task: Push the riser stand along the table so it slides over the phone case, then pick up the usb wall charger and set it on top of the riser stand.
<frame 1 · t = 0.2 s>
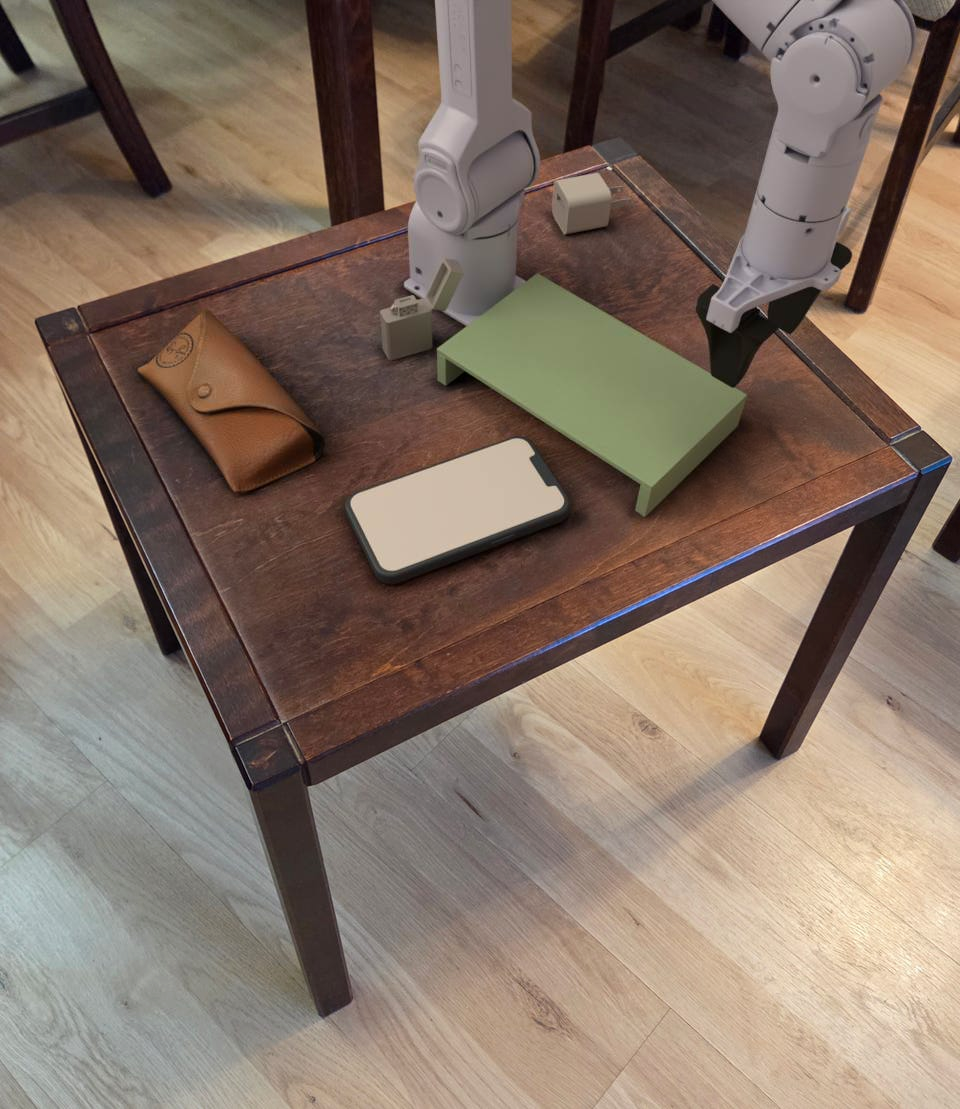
hand: (753, 352, 78), 10 cm above the table, tool pointing down, fingers open, 7 cm apart
sunglasses case: (228, 413, 88), on the table
phone case: (457, 515, 82), on the table
riser stand: (585, 403, 89), on the table
lighter: (423, 345, 93), on the table
usb wall charger: (591, 220, 104), on the table
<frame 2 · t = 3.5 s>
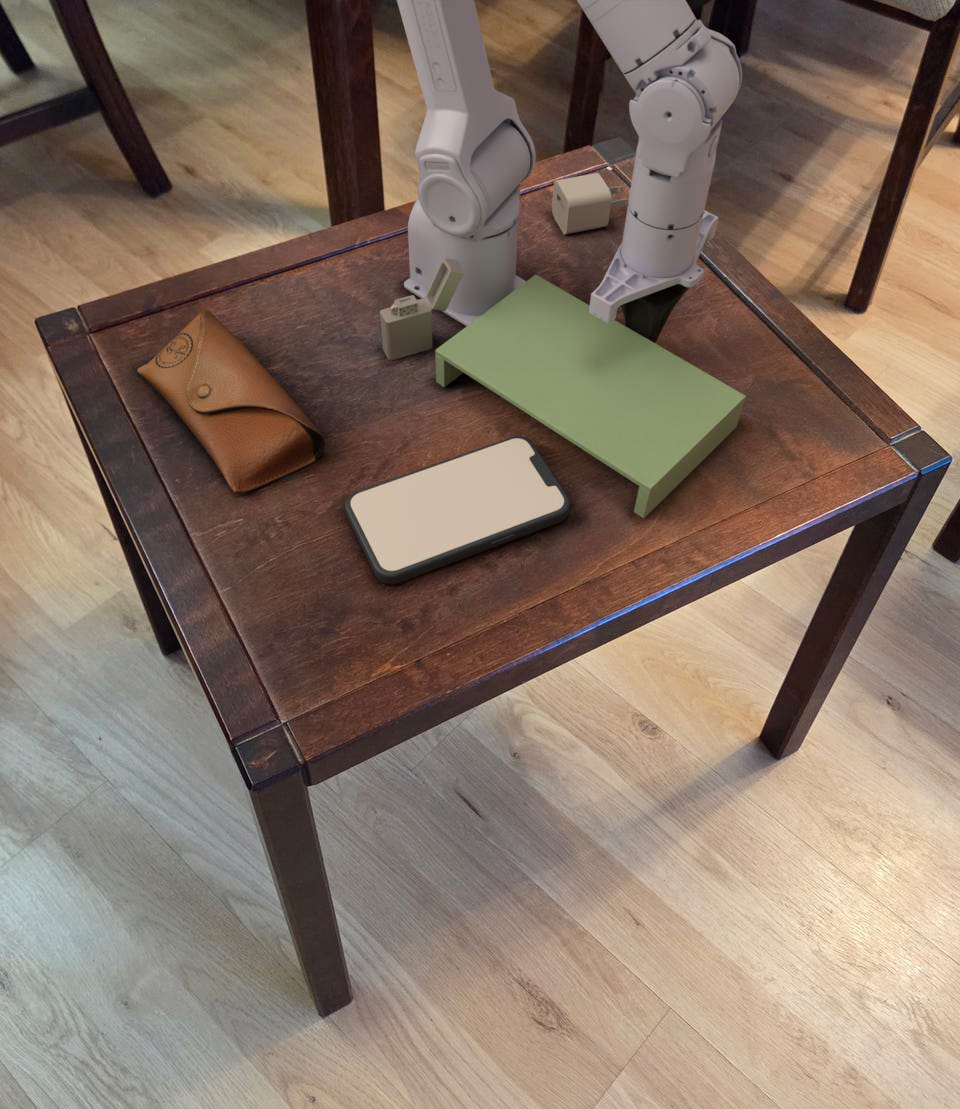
hand: (640, 341, 91), 2 cm above the table, tool pointing down, fingers closed
riser stand: (584, 404, 89), on the table, touching gripper
everything else where it was.
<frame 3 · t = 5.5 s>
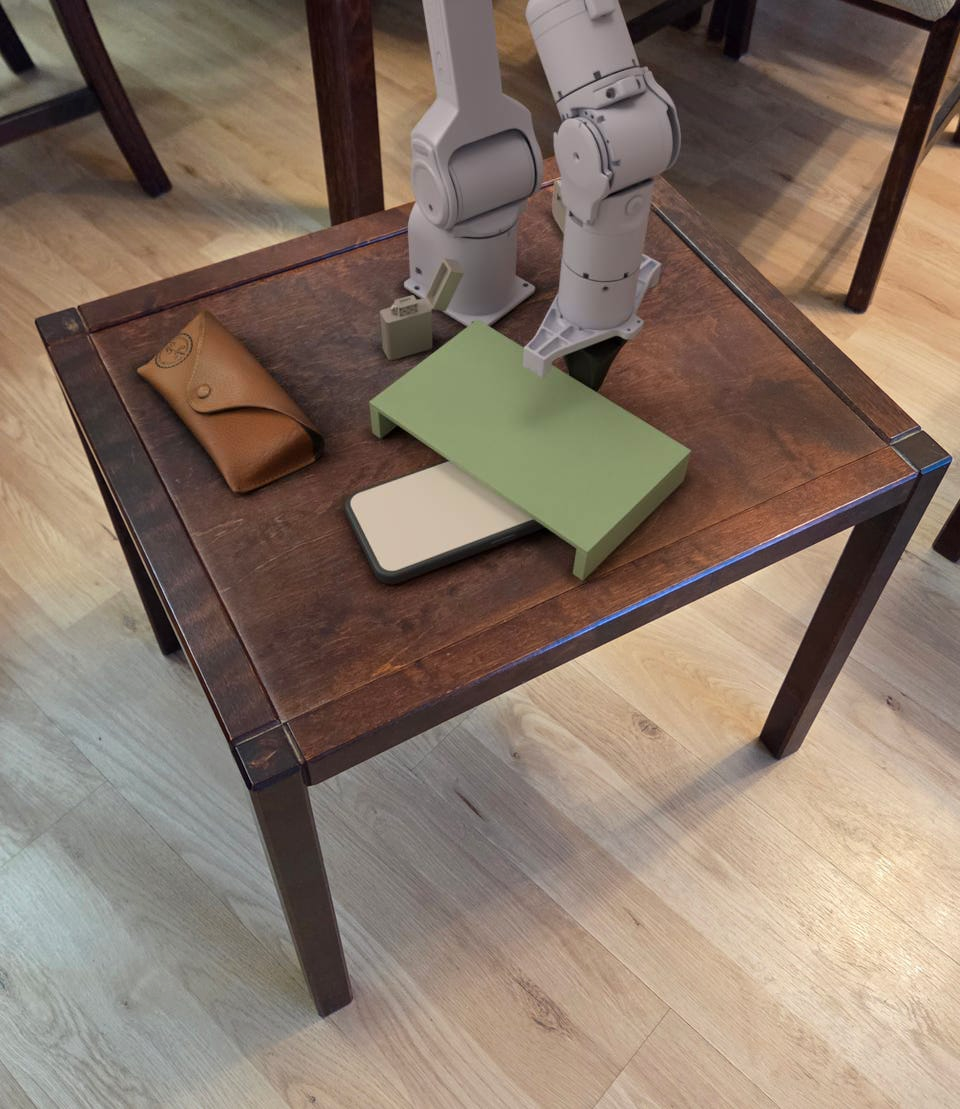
hand: (583, 390, 87), 2 cm above the table, tool pointing down, fingers closed
riser stand: (525, 456, 85), on the table, touching gripper
everything else where it was.
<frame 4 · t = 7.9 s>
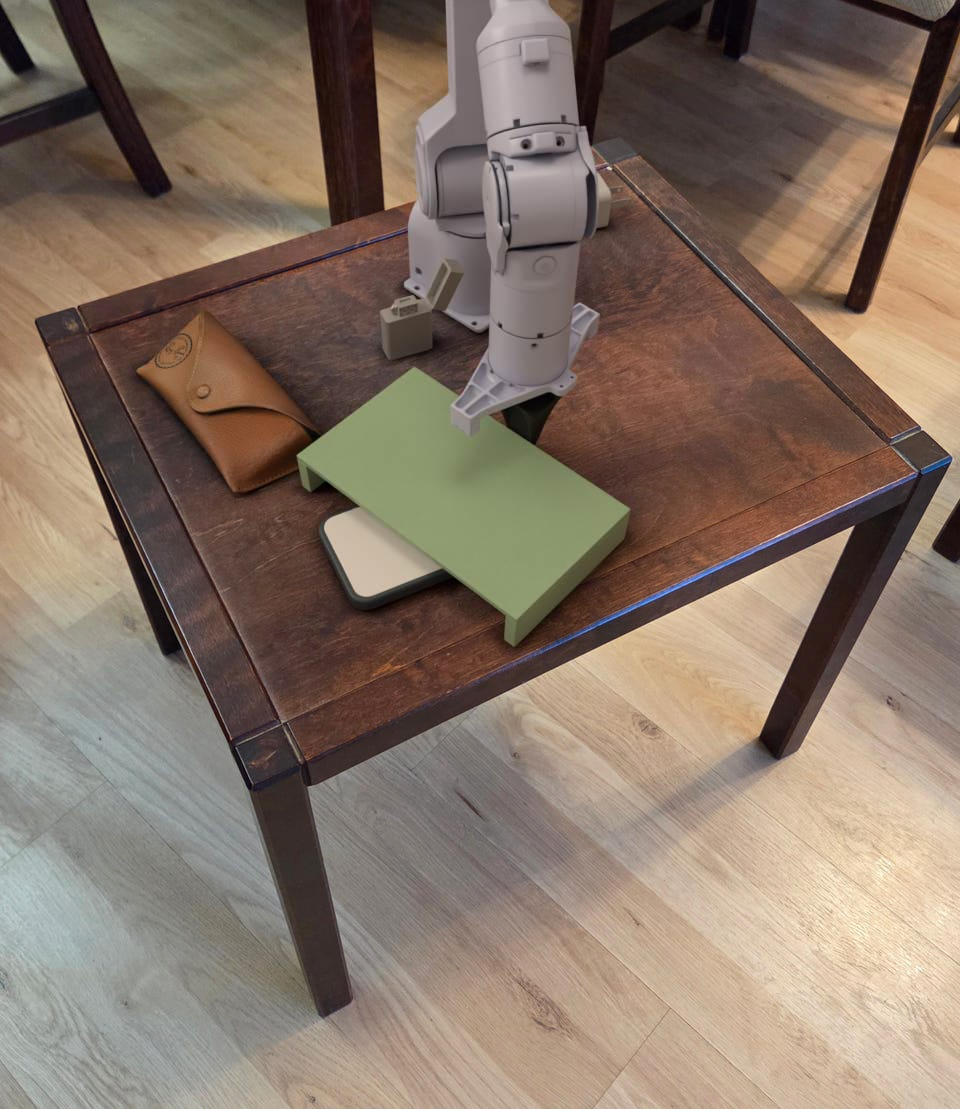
hand: (521, 443, 83), 2 cm above the table, tool pointing down, fingers closed
phone case: (433, 537, 81), on the table, touching riser stand
riser stand: (460, 512, 82), on the table, touching gripper, phone case
everything else where it was.
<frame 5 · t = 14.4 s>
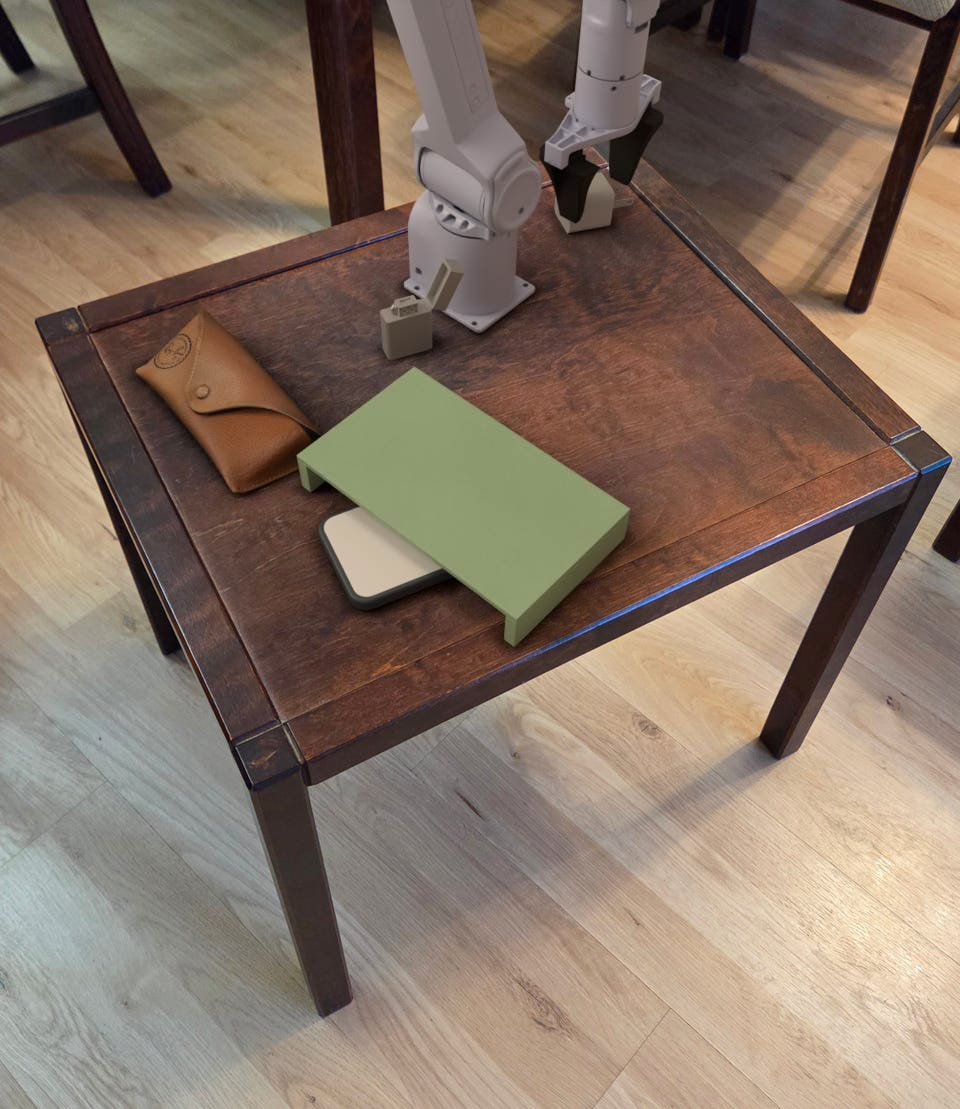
hand: (595, 198, 102), 2 cm above the table, tool pointing down
phone case: (433, 537, 81), on the table
riser stand: (460, 512, 82), on the table
usb wall charger: (593, 219, 104), on the table, touching gripper
everything else where it was.
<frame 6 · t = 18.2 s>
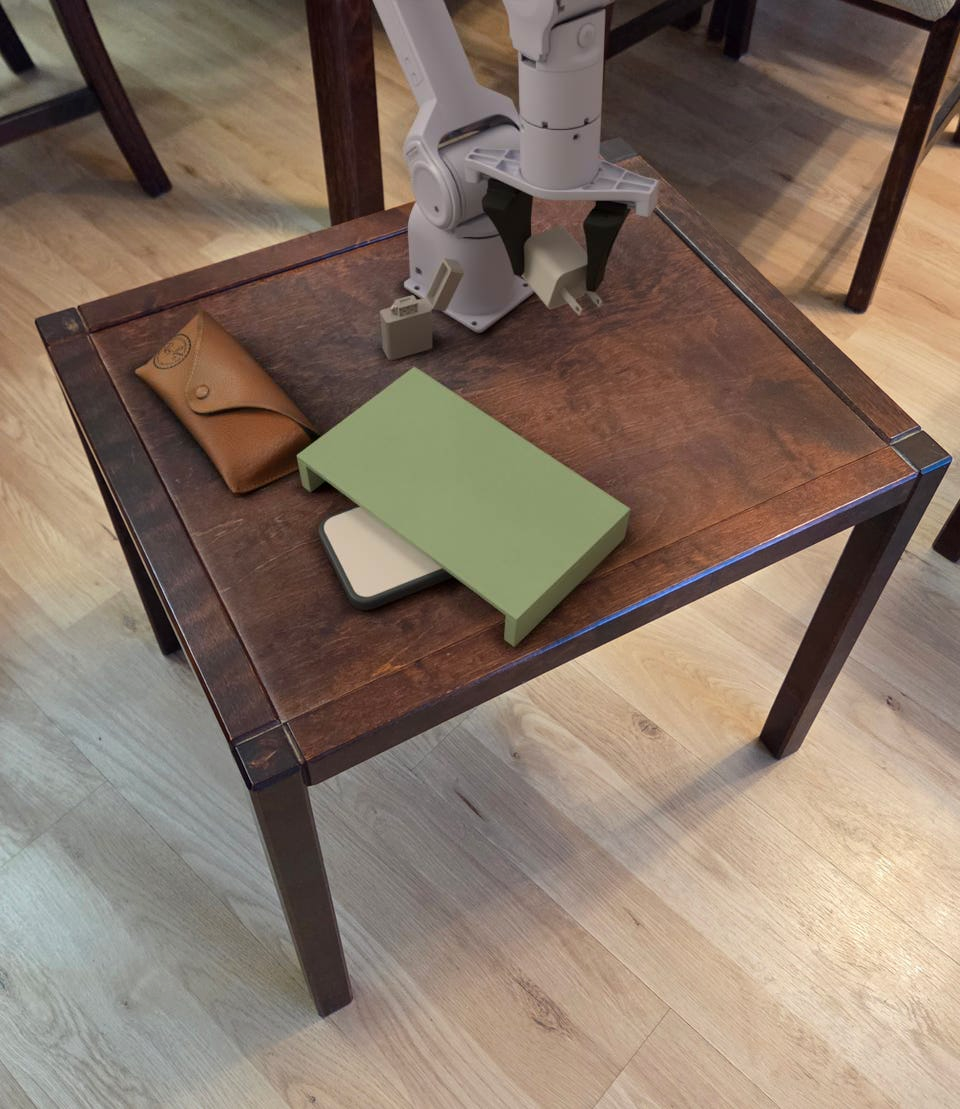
hand: (558, 276, 84), 10 cm above the table, tool pointing down, fingers closed on usb wall charger, 5 cm apart
usb wall charger: (558, 298, 85), point 7 cm above the table, touching gripper
everything else where it was.
when the fingers open (6 cm above the table, at t = 21.7 s): usb wall charger stays where it is, resting on riser stand.
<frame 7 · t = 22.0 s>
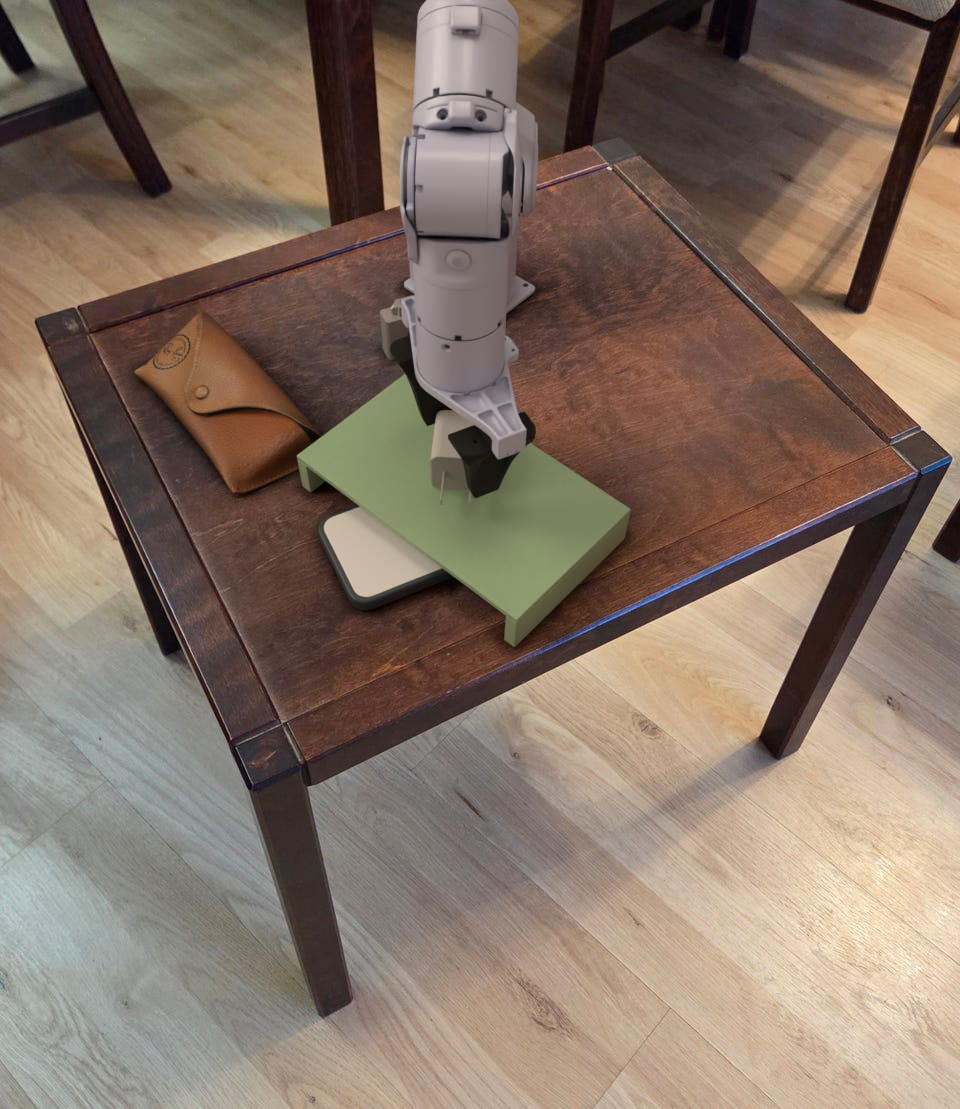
hand: (460, 453, 77), 6 cm above the table, tool pointing down, fingers open, 7 cm apart
riser stand: (461, 512, 82), on the table, touching usb wall charger
usb wall charger: (459, 483, 79), point 4 cm above the table, touching gripper, riser stand
everything else where it was.
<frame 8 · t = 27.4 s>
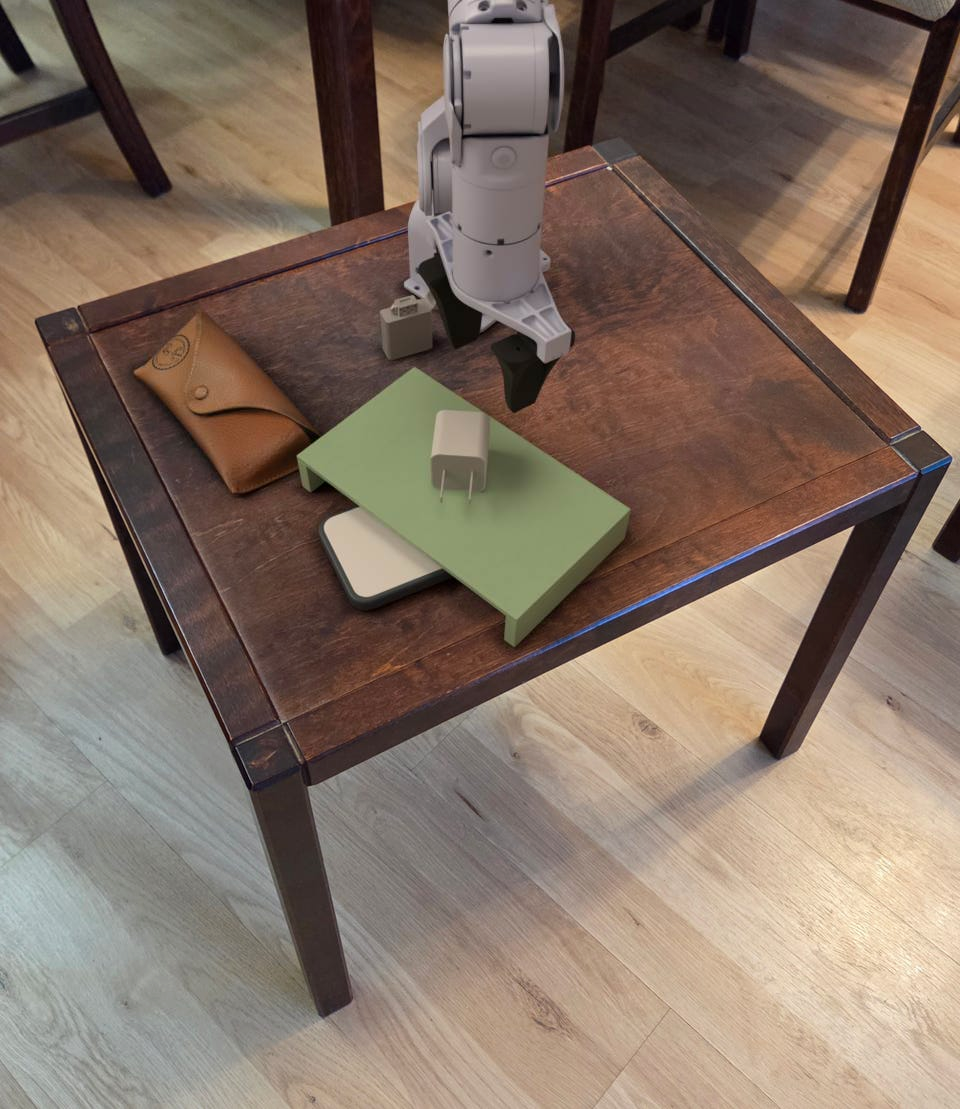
hand: (492, 373, 77), 9 cm above the table, tool pointing down, fingers open, 7 cm apart
usb wall charger: (459, 483, 79), point 4 cm above the table, touching riser stand
everything else where it was.
at the end: phone case 3.1 cm off-centre on the riser stand, point 0.0 cm above the riser stand's base; usb wall charger inside the target area on the riser stand (0.1 cm from its centre), point 3.5 cm above the riser stand's base; usb wall charger tilted 0° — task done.
